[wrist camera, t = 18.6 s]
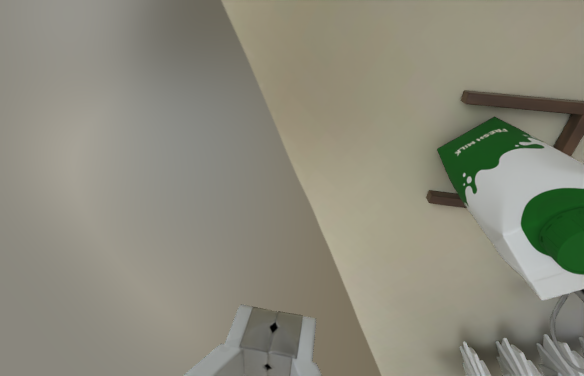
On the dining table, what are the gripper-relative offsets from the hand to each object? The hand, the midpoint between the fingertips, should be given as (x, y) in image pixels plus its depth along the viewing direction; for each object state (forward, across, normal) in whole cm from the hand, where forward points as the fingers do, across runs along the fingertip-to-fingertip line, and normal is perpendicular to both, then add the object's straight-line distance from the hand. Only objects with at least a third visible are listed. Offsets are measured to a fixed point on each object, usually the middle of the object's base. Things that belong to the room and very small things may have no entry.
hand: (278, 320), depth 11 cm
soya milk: (+29, -20, +2) cm, 35 cm away
